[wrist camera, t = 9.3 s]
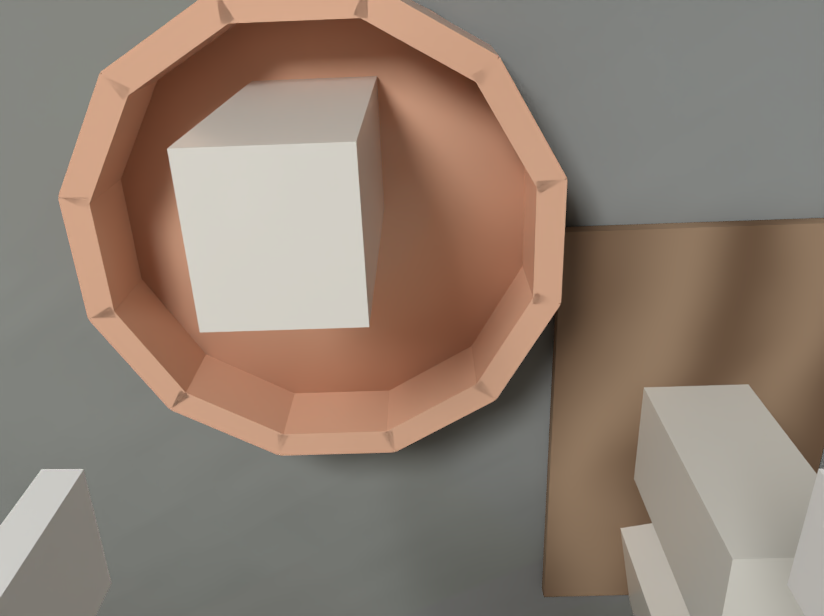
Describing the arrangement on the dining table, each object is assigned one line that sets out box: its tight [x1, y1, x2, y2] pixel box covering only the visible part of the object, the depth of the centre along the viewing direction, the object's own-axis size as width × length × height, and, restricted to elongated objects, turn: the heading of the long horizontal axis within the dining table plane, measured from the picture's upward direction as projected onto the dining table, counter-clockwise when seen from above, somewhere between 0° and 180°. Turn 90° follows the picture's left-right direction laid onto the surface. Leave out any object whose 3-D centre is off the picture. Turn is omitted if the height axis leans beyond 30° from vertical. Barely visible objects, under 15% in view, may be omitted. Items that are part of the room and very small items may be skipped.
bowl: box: [58, 0, 567, 456], centre depth 28 cm, size 17×17×4 cm
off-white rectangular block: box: [634, 384, 817, 616], centre depth 29 cm, size 4×5×10 cm
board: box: [542, 218, 824, 597], centre depth 33 cm, size 12×19×1 cm, turn 2°
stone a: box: [167, 76, 384, 333], centre depth 23 cm, size 4×5×10 cm
